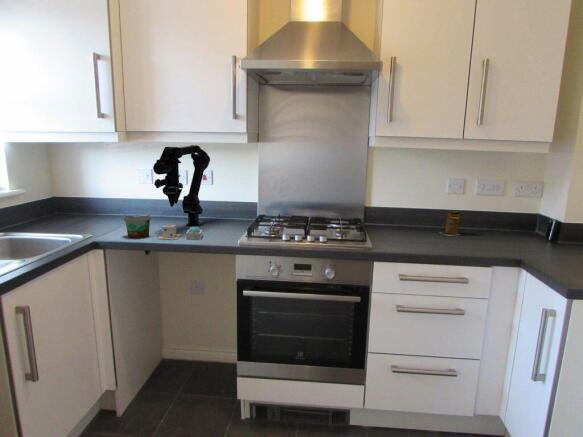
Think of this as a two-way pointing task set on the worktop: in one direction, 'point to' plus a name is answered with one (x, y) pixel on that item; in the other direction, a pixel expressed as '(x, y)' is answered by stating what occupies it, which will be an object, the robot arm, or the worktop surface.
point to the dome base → (194, 235)
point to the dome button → (194, 230)
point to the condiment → (452, 224)
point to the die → (169, 231)
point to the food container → (137, 226)
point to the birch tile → (170, 238)
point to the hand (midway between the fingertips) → (173, 205)
